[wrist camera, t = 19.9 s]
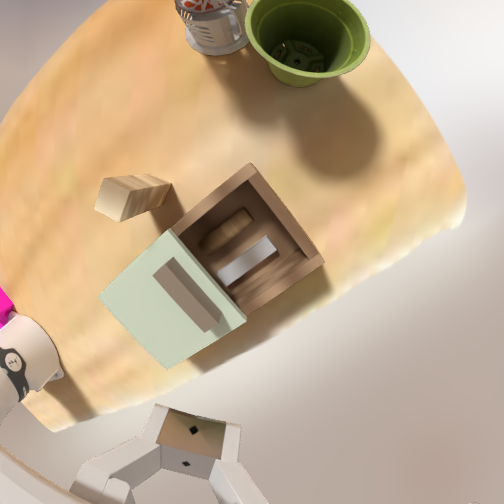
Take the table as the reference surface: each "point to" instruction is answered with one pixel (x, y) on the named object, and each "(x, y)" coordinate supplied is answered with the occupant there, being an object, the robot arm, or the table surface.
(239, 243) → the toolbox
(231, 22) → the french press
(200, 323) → the lid
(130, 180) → the wooden block
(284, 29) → the plant pot
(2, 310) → the toy block
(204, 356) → the table surface
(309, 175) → the table surface
